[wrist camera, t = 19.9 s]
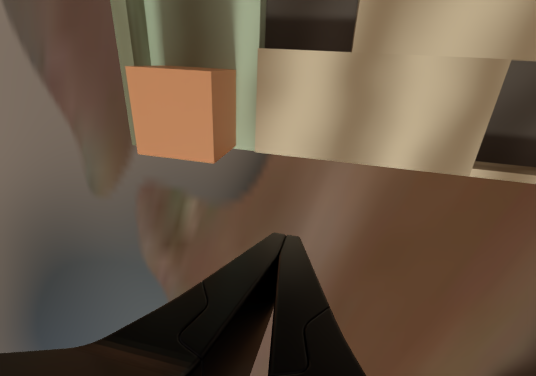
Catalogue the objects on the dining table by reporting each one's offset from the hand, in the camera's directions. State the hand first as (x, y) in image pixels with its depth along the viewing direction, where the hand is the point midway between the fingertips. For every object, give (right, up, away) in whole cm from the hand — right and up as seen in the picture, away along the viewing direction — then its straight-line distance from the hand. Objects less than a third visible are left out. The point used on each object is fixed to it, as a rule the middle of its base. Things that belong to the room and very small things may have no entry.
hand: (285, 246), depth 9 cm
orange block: (-5, +8, +11) cm, 14 cm away
